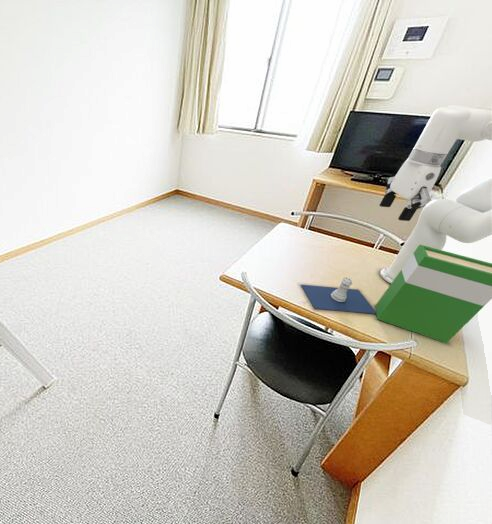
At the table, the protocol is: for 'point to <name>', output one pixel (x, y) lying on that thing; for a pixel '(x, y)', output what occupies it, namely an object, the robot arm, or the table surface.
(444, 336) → the hardback book
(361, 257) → the table surface
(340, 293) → the rook chess piece
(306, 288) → the cloth
